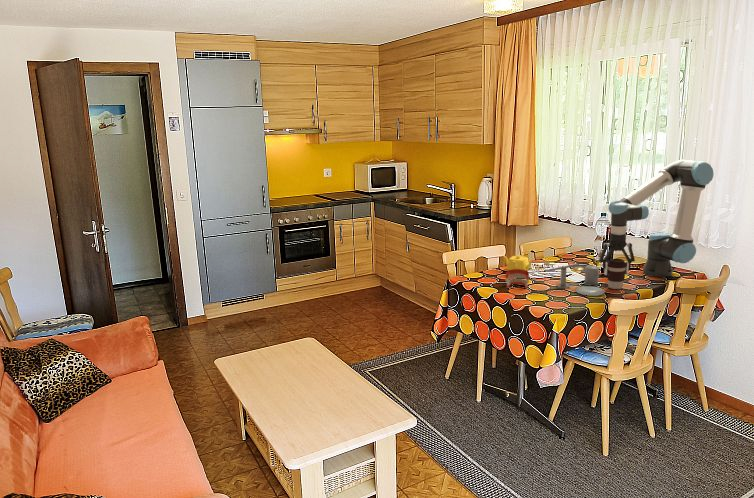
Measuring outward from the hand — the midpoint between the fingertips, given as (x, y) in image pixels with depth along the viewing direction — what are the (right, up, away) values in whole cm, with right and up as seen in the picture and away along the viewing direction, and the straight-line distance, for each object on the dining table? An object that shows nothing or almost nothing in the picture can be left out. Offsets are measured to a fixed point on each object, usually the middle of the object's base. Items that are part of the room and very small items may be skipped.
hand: (616, 274), depth 294 cm
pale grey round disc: (-15, -10, -3) cm, 18 cm away
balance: (-25, -7, +9) cm, 28 cm away
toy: (-48, -7, +14) cm, 51 cm away
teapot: (-42, 0, +40) cm, 58 cm away
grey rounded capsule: (-8, -5, +12) cm, 16 cm away
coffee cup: (0, -7, +2) cm, 7 cm away
